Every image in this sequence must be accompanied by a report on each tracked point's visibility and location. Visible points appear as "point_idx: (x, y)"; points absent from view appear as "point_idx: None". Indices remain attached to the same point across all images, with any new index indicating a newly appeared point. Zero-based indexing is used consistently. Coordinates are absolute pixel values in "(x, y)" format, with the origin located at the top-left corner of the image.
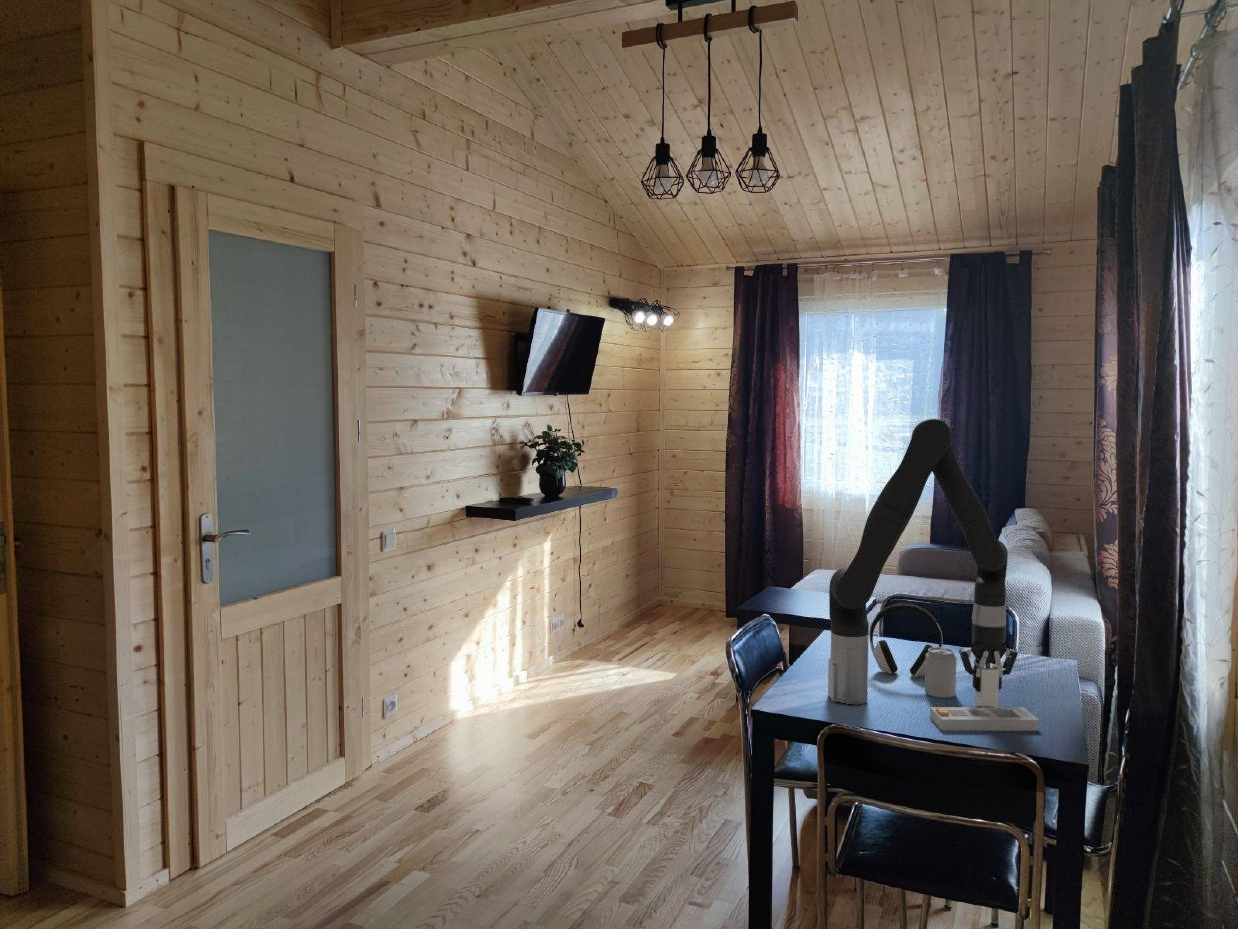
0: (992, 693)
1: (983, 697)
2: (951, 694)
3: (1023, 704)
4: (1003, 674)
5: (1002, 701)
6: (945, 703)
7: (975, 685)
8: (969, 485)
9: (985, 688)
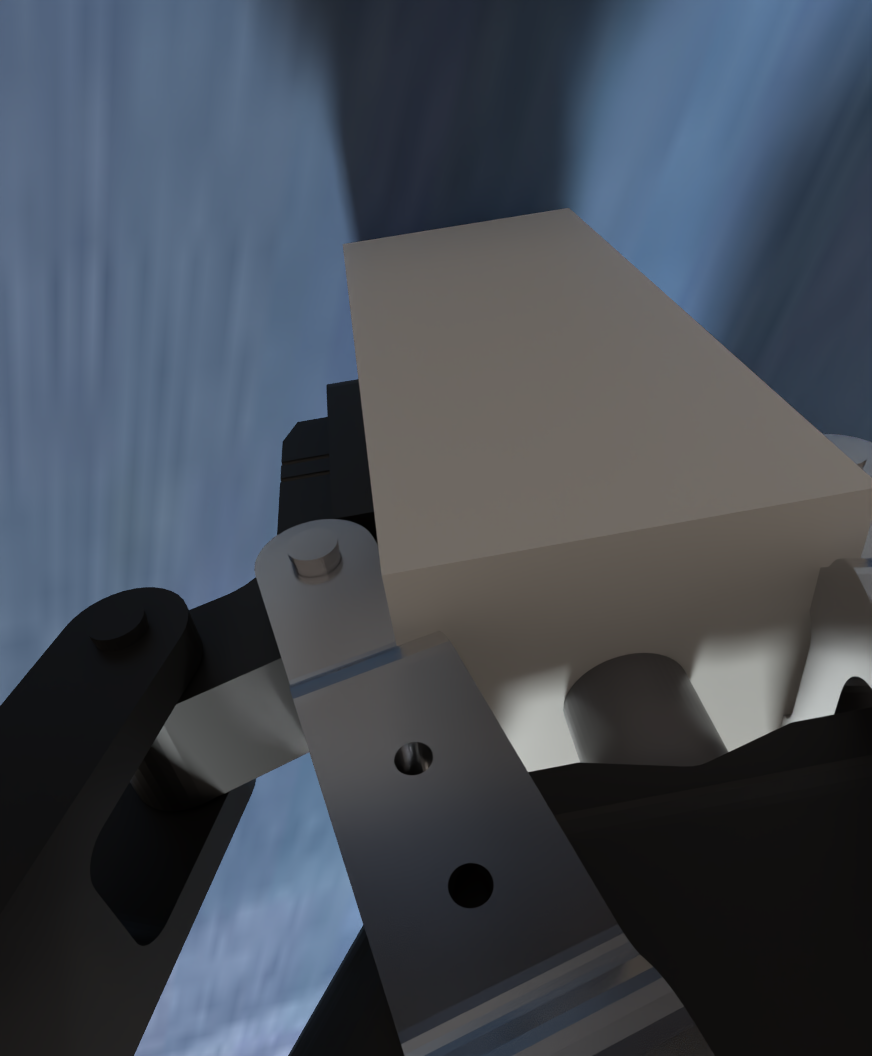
0: (451, 294)
1: (581, 247)
2: None
3: (20, 539)
4: (236, 609)
5: (232, 575)
6: (813, 421)
7: None
8: None
9: (600, 302)
